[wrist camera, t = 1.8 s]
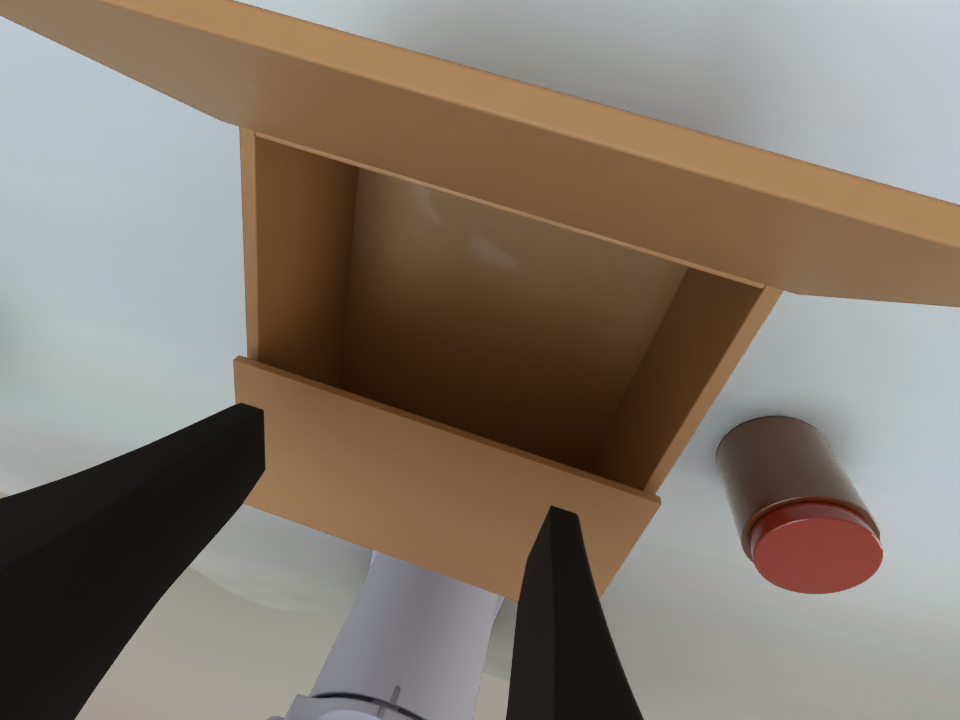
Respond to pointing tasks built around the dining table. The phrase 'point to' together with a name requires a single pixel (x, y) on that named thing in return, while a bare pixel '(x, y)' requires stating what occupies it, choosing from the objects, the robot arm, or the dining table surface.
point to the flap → (525, 146)
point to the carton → (467, 365)
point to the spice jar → (797, 508)
